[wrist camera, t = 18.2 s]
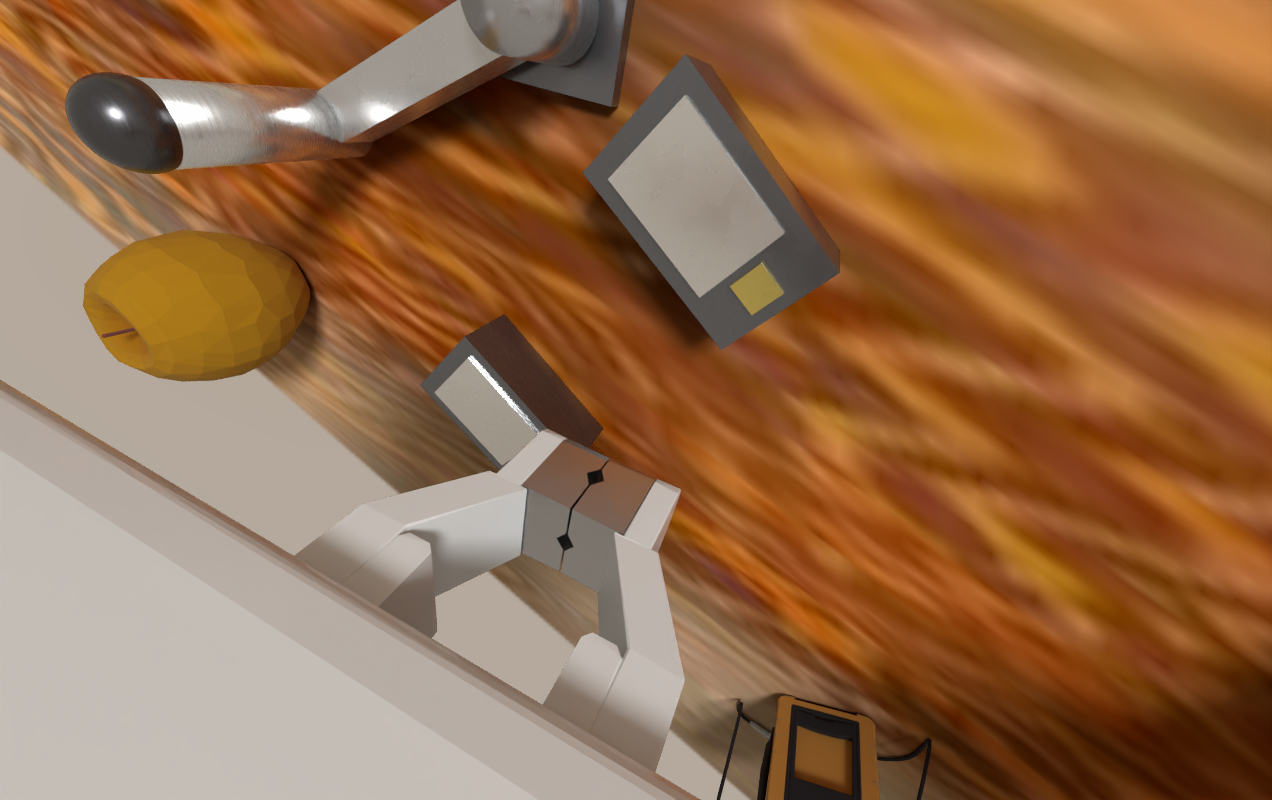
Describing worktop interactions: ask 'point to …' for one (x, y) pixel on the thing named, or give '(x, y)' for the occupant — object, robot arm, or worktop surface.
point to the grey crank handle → (324, 92)
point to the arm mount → (588, 61)
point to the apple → (196, 304)
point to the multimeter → (819, 754)
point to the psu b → (712, 205)
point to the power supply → (506, 393)
